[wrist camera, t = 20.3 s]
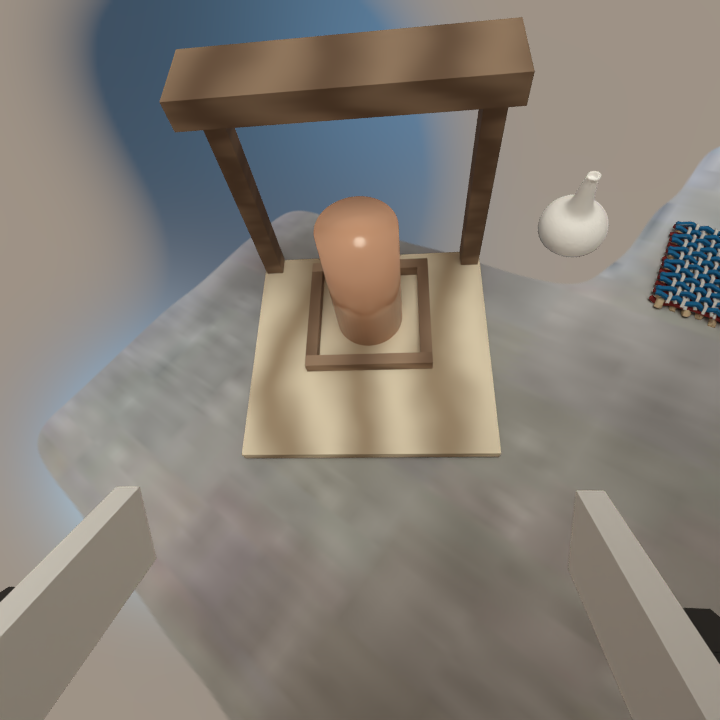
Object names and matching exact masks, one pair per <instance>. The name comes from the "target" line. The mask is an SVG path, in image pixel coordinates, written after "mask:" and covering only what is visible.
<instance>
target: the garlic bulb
mask: <svg viewBox="0 0 720 720" xmlns="http://www.w3.org/2000/svg"><path fill="white" fill-rule="evenodd" d="M599 175H600V176H599ZM601 176H602V175H601V174H600V172H598V171H591V172H589V173H588V175H587V177H585V179H584V181H583V182H582V184H581V185H580V187H579V189H578V190H577V192H576V193H575V194H574V195H566V196H563V197H560V198H558V199H556V200H555V201H553V202H552V203H551V204H549V205H548V206H547V207H546V209H545V210H544V211H543V213H542V215H541V217H540V219H539V224H538V234H539V237H540V240H541V241H542V243H543V244H544V245H545V247H546V248H548V249H549V250H550V251H552V252H554V253H556V254H558V255H562V256H566V257H580V256H584V255H586V254H589V253H591V252H593V251H594V250H596V249H597V248H598V247H599V246H600V245H601V244H602V242H603V241H604V239H605V237H606V235H607V232H608V217H607V214H606V212H605V210H604V208H603V207H602V206H601V205H600V203H598V202H597V201H595V200H594V198H595V193H596V189H597V185H598V181H599V179H600V178H601Z"/></svg>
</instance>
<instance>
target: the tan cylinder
mask: <svg viewBox="0 0 720 720" xmlns="http://www.w3.org/2000/svg"><path fill="white" fill-rule="evenodd" d="M314 239H315V243H316V246H317V250H318V253H319V257H320V261H321V264H322V268H323V271H324V275H325V279H326V282H327V286H328V289H329V293H330V297H331V300H332V304H333V307H334V311H335V314H336V318H337V322H338V325H339V328H340V330H341V332H342V334H343V335H344V336H345V337H346V338H347V339H349V340H350V341H352V342H354V343H356V344H359V345H365V346H372V345H378V344H381V343H383V342H386V341H387V340H389V339H390V338H392V337H393V336H394V335H395V334H396V332H397V331H398V330H399V328H400V325H401V322H402V297H401V273H400V250H399V226H398V220H397V217H396V215H395V213H394V211H393V210H392V209H391V208H390V207H389V206H388V205H387V204H385V203H384V202H382V201H380V200H378V199H375V198H371V197H364V196H356V197H349V198H345V199H342V200H339V201H337V202H335V203H333V204H331V205H330V206H328V207H327V208H326V209H325V210H324V211H323V212H322V213H321V214H320V216H319V217H318V219H317V221H316V223H315V226H314Z"/></svg>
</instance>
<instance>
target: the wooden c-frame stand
mask: <svg viewBox="0 0 720 720" xmlns="http://www.w3.org/2000/svg"><path fill="white" fill-rule="evenodd" d="M534 72H535V71H534V67H533V62H532V58H531V53H530V49H529V44H528V41H527V36H526V31H525V27H524V23H523V18H522V17H521V18H509V19H499V20H488V21H477V22H466V23H456V24H445V25H434V26H423V27H413V28H402V29H391V30H380V31H370V32H359V33H348V34H338V35H328V36H327V35H326V36H317V37H305V38H294V39H284V40H273V41H262V42H251V43H241V44H230V45H219V46H208V47H198V48H187V49H177V50H176V51H175V55H174V58H173V61H172V64H171V67H170V70H169V74H168V77H167V80H166V83H165V86H164V90H163V93H162V96H161V99H160V104H161V106H162V108H163V110H164V112H165V114H166V116H167V118H168V120H169V121H170V124H171V125H172V128H173V129H174V131H175V132H185V131H197V130H203V131H204V133H205V135H206V137H207V139H208V142H209V144H210V146H211V148H212V151H213V153H214V155H215V157H216V160H217V162H218V164H219V166H220V168H221V170H222V173H223V175H224V177H225V180H226V182H227V184H228V186H229V188H230V191H231V193H232V195H233V197H234V200H235V202H236V204H237V206H238V209H239V211H240V213H241V215H242V218H243V220H244V222H245V224H246V227H247V228H248V231H249V233H250V235H251V238H252V240H253V242H254V244H255V247H256V249H257V251H258V253H259V256H260V258H261V260H262V262H263V264H264V267H265V269H266V276H265V283H264V291H263V298H262V306H261V314H260V321H259V329H258V336H257V344H256V351H255V359H254V367H253V374H252V382H251V389H250V397H249V404H248V412H247V420H246V427H245V435H244V442H243V450H242V456H244V457H245V458H354V457H499V456H500V454H501V448H500V439H499V430H498V421H497V412H496V403H495V394H494V385H493V377H492V368H491V359H490V350H489V341H488V332H487V323H486V314H485V306H484V297H483V288H482V279H481V270H480V261H479V255H480V250H481V245H482V240H483V235H484V230H485V224H486V219H487V214H488V209H489V204H490V199H491V193H492V188H493V183H494V178H495V172H496V168H497V162H498V157H499V152H500V147H501V142H502V137H503V131H504V126H505V121H506V116H507V111H508V107H515V106H526V105H527V102H528V98H529V93H530V88H531V85H532V80H533V76H534ZM476 109H479V111H478V119H477V126H476V134H475V141H474V148H473V156H472V163H471V171H470V178H469V185H468V193H467V200H466V208H465V216H464V223H463V230H462V238H461V246H460V252H448V253H427V254H406V255H400V273H401V297H402V322H401V325H400V328H399V330H398V331H397V332H396V334H395V335H394V336H393V337H392V338H390V339H389V340H387V341H386V342H383V343H381V344H378V345H372V346H365V345H359V344H356V343H354V342H352V341H350V340H349V339H347V338H346V337H345V336H344V335H343V334H342V332H341V330H340V328H339V325H338V322H337V318H336V314H335V311H334V307H333V304H332V300H331V297H330V293H329V289H328V286H327V282H326V279H325V275H324V271H323V268H322V264H321V261H320V259H300V260H285V259H284V257H283V254H282V251H281V249H280V246H279V244H278V241H277V238H276V236H275V233H274V230H273V228H272V225H271V222H270V220H269V217H268V215H267V212H266V209H265V207H264V204H263V201H262V199H261V196H260V193H259V191H258V188H257V186H256V183H255V180H254V178H253V175H252V173H251V170H250V167H249V164H248V162H247V159H246V157H245V154H244V151H243V149H242V146H241V144H240V141H239V138H238V135H237V133H236V130H235V128H237V127H250V126H263V125H276V124H290V123H303V122H317V121H330V120H344V119H357V118H369V117H383V116H396V115H410V114H423V113H436V112H450V111H462V110H476Z"/></svg>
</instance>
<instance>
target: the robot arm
mask: <svg viewBox="0 0 720 720" xmlns="http://www.w3.org/2000/svg"><path fill="white" fill-rule="evenodd" d="M155 560H156V554H155V550H154V546H153V541H152V537H151V533H150V528H149V524H148V520H147V516H146V511H145V507H144V503H143V499H142V494H141V490H140V487H116V488H115V489H114V490H113V491H112V492H111V493H110V494H109V495H108V496H107V497H106V498H105V499H104V500H103V501H102V502H101V503H100V504H99V505H98V506H97V507H96V508H95V509H94V510H93V511H92V512H91V513H90V514H89V515H88V516H87V517H86V518H85V519H84V520H83V521H82V522H81V523H80V524H79V525H78V526H77V527H76V528H75V529H74V530H73V531H72V532H71V533H70V534H69V535H68V536H66V538H65V539H64V540H62V542H61V543H59V544H58V545H57V546H56V547H55V548H54V549H53V550H52V551H51V552H50V553H49V554H48V555H47V556H46V557H45V558H44V559H43V560H42V561H41V562H40V563H39V564H38V565H37V566H36V568H34V569H33V570H32V571H31V572H30V573H29V574H28V575H27V576H26V577H25V578H24V579H23V580H22V581H21V582H20V583H19V584H18V585H17V586H16V587H8V588H6V589H5V590H3V591H2V592H0V720H44V719H45V717H46V716H47V714H48V713H49V712H50V710H51V709H52V707H53V706H54V704H55V703H56V702H57V700H58V699H59V697H60V696H61V694H62V693H63V691H64V690H65V688H66V687H67V686H68V684H69V683H70V681H71V680H72V678H73V677H74V676H75V674H76V673H77V671H78V670H79V669H80V667H81V666H82V664H83V663H84V661H85V660H86V659H87V657H88V656H89V654H90V653H91V651H92V650H93V648H94V647H95V646H96V644H97V643H98V641H99V640H100V638H101V637H102V636H103V634H104V633H105V631H106V630H107V628H108V627H109V625H110V624H111V623H112V621H113V620H114V618H115V617H116V616H117V614H118V613H119V611H120V610H121V608H122V607H123V606H124V604H125V603H126V601H127V600H128V598H129V597H130V595H131V594H132V593H133V591H134V590H135V588H136V587H137V585H138V584H139V583H140V581H141V580H142V578H143V577H144V575H145V574H146V573H147V571H148V570H149V568H150V567H151V565H152V564H153V563H154V561H155ZM568 570H569V572H570V575H571V577H572V579H573V582H574V584H575V586H576V589H577V591H578V593H579V596H580V598H581V600H582V603H583V605H584V607H585V610H586V612H587V614H588V617H589V619H590V621H591V624H592V626H593V629H594V631H595V633H596V636H597V638H598V640H599V643H600V645H601V647H602V650H603V652H604V654H605V657H606V659H607V661H608V664H609V666H610V668H611V671H612V673H613V675H614V678H615V680H616V682H617V685H618V687H619V689H620V692H621V694H622V697H623V699H624V701H625V704H626V706H627V708H628V711H629V713H630V715H631V718H632V720H720V617H719V616H718V615H717V614H716V613H714V612H713V611H712V610H711V609H698V608H682V607H681V605H680V604H679V602H678V601H677V599H676V598H675V596H674V595H673V593H672V592H671V590H670V589H669V587H668V586H667V584H666V583H665V581H664V580H663V578H662V577H661V575H660V574H659V572H658V571H657V569H656V567H655V566H654V564H653V563H652V561H651V560H650V558H649V557H648V555H647V554H646V552H645V551H644V549H643V548H642V546H641V545H640V543H639V542H638V540H637V539H636V537H635V536H634V534H633V533H632V531H631V530H630V528H629V527H628V525H627V524H626V522H625V521H624V519H623V518H622V516H621V515H620V513H619V512H618V510H617V509H616V507H615V506H614V504H613V503H612V501H611V500H610V498H609V497H608V495H607V494H606V492H605V491H596V490H576V496H575V506H574V516H573V526H572V535H571V545H570V555H569V564H568Z"/></svg>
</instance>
